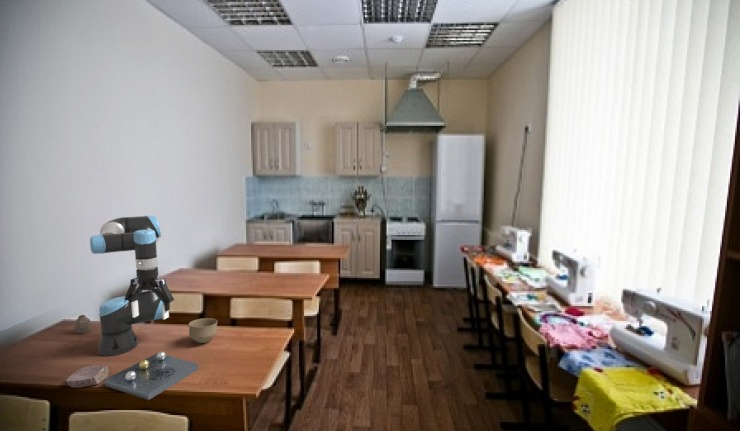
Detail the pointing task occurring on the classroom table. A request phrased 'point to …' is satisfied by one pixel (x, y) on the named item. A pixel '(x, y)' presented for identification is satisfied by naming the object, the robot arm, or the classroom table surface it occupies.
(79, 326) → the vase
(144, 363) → the brass ball
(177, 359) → the plate
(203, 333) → the bowl
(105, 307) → the robot arm
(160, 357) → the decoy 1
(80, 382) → the stone
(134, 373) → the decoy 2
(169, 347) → the classroom table surface
